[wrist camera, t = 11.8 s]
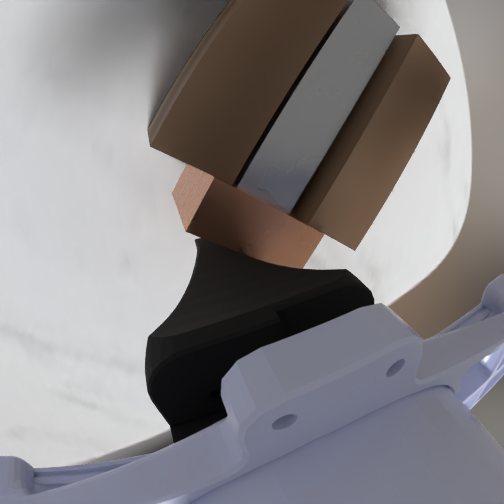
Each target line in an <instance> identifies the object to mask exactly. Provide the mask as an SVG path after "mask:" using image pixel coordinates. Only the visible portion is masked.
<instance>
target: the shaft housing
mask: <svg viewBox="0 0 504 504" xmlns="http://www.w3.org/2000/svg"><path fill="white" fill-rule="evenodd" d="M347 2H348V0H230V2H229V3H228V4H227V6H226V7H225V8H224V9H223V11H222V12H221V13H220V15H219V16H218V17H217V19H216V20H215V22H214V23H213V24H212V26H211V27H210V28H209V30H208V31H207V33H206V34H205V36H204V37H203V38H202V40H201V41H200V43H199V44H198V46H197V47H196V49H195V50H194V52H193V53H192V55H191V56H190V58H189V59H188V61H187V63H186V64H185V66H184V67H183V69H182V71H181V72H180V74H179V75H178V77H177V79H176V80H175V82H174V84H173V85H172V87H171V89H170V90H169V92H168V94H167V95H166V97H165V99H164V101H163V102H162V104H161V106H160V108H159V110H158V111H157V113H156V115H155V117H154V119H153V121H152V122H151V124H150V126H149V128H148V130H147V131H148V137H149V142H150V147H152V148H154V149H157V150H159V151H161V152H163V153H165V154H167V155H170V156H172V157H174V158H176V159H178V160H180V161H182V162H185V163H187V164H189V165H191V166H193V167H195V168H197V169H199V170H201V171H203V172H205V173H208V174H210V175H212V176H214V177H216V178H218V179H220V180H222V181H224V182H226V183H228V184H230V185H233V183H234V181H235V179H236V178H237V176H238V174H239V172H240V171H241V169H242V167H243V165H244V164H245V162H246V160H247V158H248V157H249V155H250V153H251V152H252V150H253V148H254V147H255V145H256V143H257V141H258V140H259V138H260V136H261V135H262V133H263V131H264V130H265V128H266V126H267V125H268V123H269V121H270V120H271V118H272V117H273V115H274V113H275V112H276V110H277V108H278V107H279V105H280V104H281V102H282V100H283V99H284V97H285V95H286V94H287V92H288V91H289V89H290V88H291V86H292V84H293V83H294V81H295V80H296V78H297V76H298V75H299V73H300V72H301V70H302V69H303V67H304V66H305V64H306V62H307V61H308V59H309V58H310V56H311V55H312V53H313V52H314V50H315V49H316V47H317V46H318V44H319V43H320V41H321V40H322V38H323V37H324V35H325V34H326V32H327V31H328V29H329V28H330V26H331V25H332V23H333V22H334V20H335V19H336V17H337V16H338V15H339V13H340V12H341V10H342V9H343V7H344V6H345V5H346V3H347ZM449 81H450V76H449V75H448V73H447V72H446V70H445V69H444V68H443V66H442V65H441V63H440V62H439V61H438V59H437V58H436V56H435V55H434V54H433V52H432V51H431V50H430V48H429V47H428V46H427V45H426V43H425V42H424V41H423V40H422V38H421V37H420V36H419V35H418V34H411V35H396V36H395V37H394V38H393V40H392V42H391V44H390V45H389V47H388V49H387V50H386V52H385V54H384V56H383V57H382V59H381V61H380V62H379V64H378V66H377V68H376V69H375V71H374V73H373V74H372V76H371V78H370V80H369V81H368V83H367V85H366V86H365V88H364V90H363V92H362V93H361V95H360V97H359V98H358V100H357V102H356V103H355V105H354V107H353V109H352V110H351V112H350V114H349V115H348V117H347V119H346V120H345V122H344V124H343V125H342V127H341V129H340V130H339V132H338V134H337V136H336V137H335V139H334V141H333V142H332V144H331V146H330V147H329V149H328V151H327V152H326V154H325V156H324V157H323V159H322V161H321V162H320V164H319V166H318V167H317V169H316V171H315V172H314V174H313V176H312V177H311V179H310V181H309V182H308V184H307V186H306V187H305V189H304V191H303V192H302V194H301V196H300V197H299V199H298V201H297V202H296V204H295V205H294V207H293V209H292V210H291V212H293V213H294V214H295V215H296V216H298V217H299V218H300V219H301V220H303V221H304V222H305V223H306V224H308V225H309V226H311V227H313V228H315V229H317V230H318V231H320V232H322V233H324V234H326V235H327V236H329V237H331V238H333V239H335V240H337V241H338V242H340V243H342V244H344V245H346V246H347V247H349V248H351V249H353V250H354V251H355V250H356V248H357V247H358V245H359V244H360V242H361V240H362V239H363V237H364V236H365V234H366V233H367V231H368V229H369V228H370V226H371V225H372V223H373V221H374V220H375V218H376V216H377V215H378V213H379V211H380V210H381V208H382V207H383V205H384V203H385V201H386V200H387V198H388V196H389V195H390V193H391V191H392V190H393V188H394V186H395V184H396V183H397V181H398V179H399V177H400V176H401V174H402V172H403V170H404V169H405V167H406V165H407V163H408V161H409V160H410V158H411V156H412V154H413V152H414V150H415V149H416V147H417V145H418V143H419V141H420V139H421V137H422V135H423V133H424V132H425V130H426V128H427V126H428V124H429V122H430V120H431V118H432V116H433V114H434V112H435V110H436V108H437V106H438V104H439V102H440V100H441V98H442V95H443V93H444V91H445V89H446V87H447V85H448V83H449Z"/></svg>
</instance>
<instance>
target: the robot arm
mask: <svg viewBox="0 0 504 504" xmlns="http://www.w3.org/2000/svg"><path fill="white" fill-rule="evenodd" d="M195 243H196V247H197V257H196V262H195V267H194V270H193V273H192V277H191V280H190V282H189V285H188V287H187V289H186V291H185V293H184V295H183V297H182V299H181V301H180V302H179V304H178V305H177V307H176V308H175V310H174V311H173V312H172V313H171V314H170V316H169V317H168V318H167V319H166V320H165V321H164V322H163V323H162V324H161V325H160V326H159V327H158V328H157V329H156V330H155V331H154V332H153V333H152V334H150V335H149V337H148V341H147V347H146V358H145V375H146V383H147V390H148V394H149V396H150V398H151V400H152V402H153V403H154V405H155V406H156V408H157V409H158V410H159V412H160V413H161V414H162V416H163V417H164V418H165V420H166V421H167V422H168V424H169V425H170V428H171V432H172V437H173V442H174V444H172V445H170V446H168V447H166V448H163V449H161V450H159V451H157V452H154V453H151V454H147V455H141V456H137V457H131V458H126V459H120V460H114V461H107V462H100V463H92V464H84V465H75V466H64V467H50V468H33V467H32V466H31V465H30V464H29V463H27V462H26V461H24V460H23V459H21V458H18V457H15V456H0V504H504V449H503V448H502V447H501V446H500V445H499V444H498V442H497V441H496V440H495V439H494V438H493V437H492V435H491V434H490V433H489V432H488V431H487V430H486V429H485V427H484V426H483V425H482V424H481V423H480V422H479V421H478V420H477V418H476V417H475V416H474V415H473V414H472V413H471V412H470V411H469V410H470V409H471V408H472V407H473V406H474V405H475V404H476V403H477V402H478V401H479V400H480V399H481V398H482V397H483V396H484V395H485V394H486V393H487V392H488V391H489V390H490V389H491V388H492V387H493V386H494V385H495V383H497V381H498V380H499V379H500V378H501V377H502V376H503V375H504V274H501V275H500V276H498V277H497V278H496V279H495V280H493V281H492V282H490V283H489V284H488V286H487V287H486V289H485V291H484V293H483V296H482V300H481V303H480V304H479V305H478V306H477V307H476V308H474V309H472V310H471V311H470V312H468V313H467V314H466V315H464V316H463V317H461V318H460V319H459V320H457V321H456V322H454V323H453V324H451V325H450V326H448V327H447V328H445V329H444V330H442V331H441V332H439V333H438V334H436V335H435V336H433V337H432V338H429V339H426V340H423V339H422V338H421V337H420V336H419V335H418V334H417V333H416V332H415V331H414V330H413V329H412V328H411V327H410V326H409V325H408V324H407V323H406V322H405V321H403V320H402V319H401V318H400V317H399V316H398V315H397V314H396V313H395V312H394V311H393V310H392V309H390V308H388V307H387V306H385V305H383V304H382V303H379V304H374V298H373V295H372V292H371V291H370V290H369V289H368V288H367V287H366V286H365V285H364V284H363V283H362V282H361V281H360V280H359V279H358V278H357V277H356V276H354V275H353V274H352V273H351V272H349V271H348V270H347V269H336V270H314V269H300V268H292V267H287V266H281V265H276V264H272V263H268V262H265V261H262V260H258V259H256V258H253V257H250V256H248V255H246V254H243V253H238V252H236V251H233V250H231V249H228V248H226V247H223V246H221V245H218V244H216V243H213V242H211V241H208V240H206V239H203V238H199V239H196V240H195Z"/></svg>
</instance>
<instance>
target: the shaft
mask: <svg viewBox="0 0 504 504" xmlns="http://www.w3.org/2000/svg"><path fill="white" fill-rule="evenodd" d="M399 28H400V27H399V26H398V25H397V24H396V22H395V21H394V20H393V19H392V18H391V17H390V16H389V15H388V14H387V13H386V12H385V11H384V10H383V9H382V8H381V7H380V6H379V5H378V4H377V3H376V2H375V1H374V0H348V2H347V3H346V5H345V6H344V7H343V9H342V10H341V12H340V13H339V15H338V16H337V17H336V19H335V20H334V22H333V23H332V25H331V26H330V28H329V29H328V31H327V32H326V34H325V35H324V37H323V38H322V40H321V41H320V43H319V44H318V46H317V47H316V49H315V50H314V52H313V53H312V55H311V56H310V58H309V59H308V61H307V62H306V64H305V66H304V67H303V69H302V70H301V72H300V73H299V75H298V76H297V78H296V80H295V81H294V83H293V84H292V86H291V88H290V89H289V91H288V92H287V94H286V95H285V97H284V99H283V100H282V102H281V104H280V105H279V107H278V108H277V110H276V112H275V113H274V115H273V117H272V118H271V120H270V121H269V123H268V125H267V126H266V128H265V130H264V131H263V133H262V135H261V136H260V138H259V140H258V141H257V143H256V145H255V147H254V148H253V150H252V152H251V153H250V155H249V157H248V158H247V160H246V162H245V164H244V165H243V167H242V169H241V171H240V172H239V174H238V176H237V178H236V179H235V181H234V183H233V185H230V184H228V183H226V182H224V181H222V180H220V179H218V178H216V177H214V176H212V175H210V174H208V173H205V172H203V171H201V170H199V169H197V168H195V167H193V166H191V165H189V164H187V165H186V167H185V169H184V170H183V172H182V174H181V176H180V178H179V180H178V182H177V184H176V186H175V188H174V190H173V192H172V194H173V197H174V200H175V203H176V206H177V209H178V212H179V214H180V217H181V220H182V223H183V226H184V228H185V231H186V232H188V233H191V234H193V235H196V236H198V237H201V238H203V239H206V240H208V241H211V242H213V243H216V244H218V245H221V246H223V247H226V248H228V249H231V250H233V251H236V252H238V253H243V254H246V255H248V256H250V257H253V258H256V259H258V260H262V261H265V262H268V263H272V264H276V265H281V266H287V267H292V268H300V269H303V267H304V266H305V264H306V262H307V261H308V259H309V258H310V256H311V255H312V253H313V252H314V250H315V248H316V247H317V245H318V244H319V242H320V241H321V239H322V237H323V236H324V234H323V233H322V232H320V231H318V230H317V229H315V228H313V227H311V226H309V225H308V224H306V223H305V222H304V221H303V220H301V219H300V218H299V217H298V216H296V215H295V214H294V213H293V212H291V210H292V209H293V207H294V205H295V204H296V202H297V201H298V199H299V197H300V196H301V194H302V192H303V191H304V189H305V187H306V186H307V184H308V182H309V181H310V179H311V177H312V176H313V174H314V172H315V171H316V169H317V167H318V166H319V164H320V162H321V161H322V159H323V157H324V156H325V154H326V152H327V151H328V149H329V147H330V146H331V144H332V142H333V141H334V139H335V137H336V136H337V134H338V132H339V130H340V129H341V127H342V125H343V124H344V122H345V120H346V119H347V117H348V115H349V114H350V112H351V110H352V109H353V107H354V105H355V103H356V102H357V100H358V98H359V97H360V95H361V93H362V92H363V90H364V88H365V86H366V85H367V83H368V81H369V80H370V78H371V76H372V74H373V73H374V71H375V69H376V68H377V66H378V64H379V62H380V61H381V59H382V57H383V56H384V54H385V52H386V50H387V49H388V47H389V45H390V44H391V42H392V40H393V38H394V37H395V35H396V33H397V31H398V30H399Z"/></svg>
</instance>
